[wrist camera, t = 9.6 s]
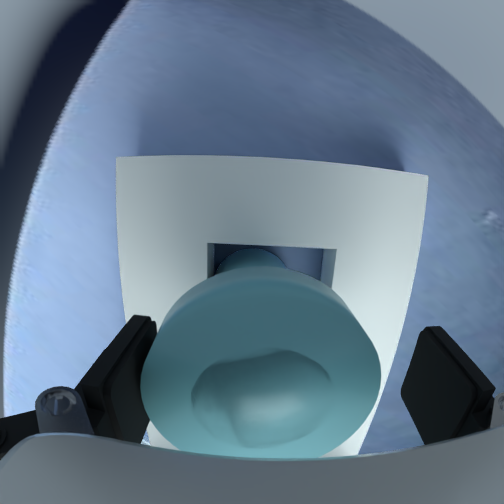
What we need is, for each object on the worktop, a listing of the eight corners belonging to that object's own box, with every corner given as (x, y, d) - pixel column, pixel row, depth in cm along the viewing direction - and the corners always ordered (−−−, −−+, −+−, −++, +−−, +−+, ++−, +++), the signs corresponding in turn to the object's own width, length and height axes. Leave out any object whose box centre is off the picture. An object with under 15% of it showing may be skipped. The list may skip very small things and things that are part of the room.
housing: (405, 172, 15) (508, 188, 7) (338, 459, 21) (356, 538, 13) (136, 157, 15) (40, 159, 7) (166, 454, 21) (145, 533, 13)
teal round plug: (322, 224, 16) (407, 295, 7) (308, 340, 18) (350, 463, 9) (186, 218, 15) (124, 288, 7) (189, 338, 17) (158, 464, 9)
